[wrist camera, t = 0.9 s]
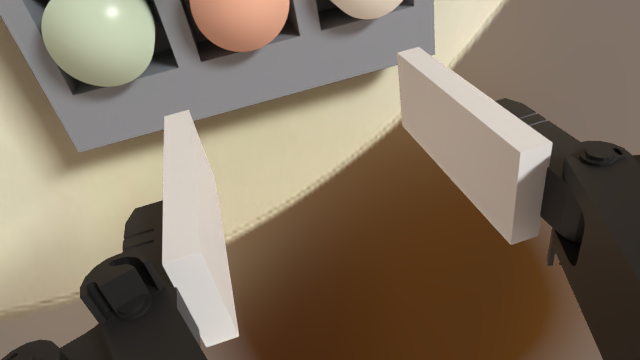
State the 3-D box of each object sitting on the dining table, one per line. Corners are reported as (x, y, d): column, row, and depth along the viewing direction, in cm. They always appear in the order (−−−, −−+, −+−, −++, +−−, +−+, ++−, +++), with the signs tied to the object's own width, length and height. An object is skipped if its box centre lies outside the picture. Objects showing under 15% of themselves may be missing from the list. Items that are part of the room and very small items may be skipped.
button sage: (37, -19, 29) (19, -3, 25) (135, -41, 29) (130, -28, 26) (83, 72, 32) (72, 97, 29) (168, 50, 33) (168, 72, 29)
